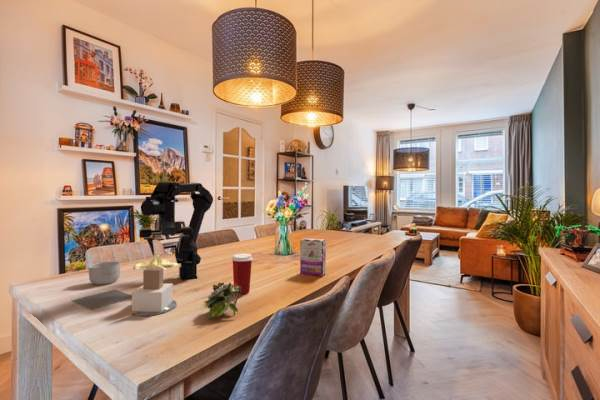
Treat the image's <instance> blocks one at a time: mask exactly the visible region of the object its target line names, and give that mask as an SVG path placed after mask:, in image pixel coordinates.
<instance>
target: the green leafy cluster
mask: <svg viewBox="0 0 600 400" xmlns="http://www.w3.org/2000/svg"><path fill="white" fill-rule="evenodd" d="M235 289H236V290H234V283H232V282H229V283H228V284H227V283H226V284H225V282H217V284H213V285H212V290H213V292H211V293H210V294H209V295H208V296H207V300H205V301H204V304H205V305H206V308H207V309H209V311H208V315H207V317H208V320H211V319H214V318H215V317H220V316H222V315H223V314H224V313H225V312H226V311H227V310H228V308H229V309H230V310H231V311H233V317H235V315H236V312H237V313H238V311H239V310H238V308H237V302H238V299H239V297H240V295H239V294H240V292H241V290H242V289H241V286H240V288H239V286H238V287H236V288H235ZM238 292H239V294H238V295H237V296H236V299H235V301H234V302H231V301H230V298H233V297H234V295H235V293H238Z"/></svg>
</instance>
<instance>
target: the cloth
mask: <svg viewBox="0 0 600 400" xmlns="http://www.w3.org/2000/svg"><path fill="white" fill-rule="evenodd" d="M178 265H179V264H177V262H171V261H169V260H167V259H163V258H162V257H161V256H160V255H159V254H156V255H155V256H154V258H153V259H152V260H150V262H141V263H136V264H135V265H134V267H133V269H134V270H140V269H143V270H145V269H147V268H163V271H166V270H167V268H168V267H169V268H175V267H177V266H178Z"/></svg>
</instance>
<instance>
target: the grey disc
mask: <svg viewBox="0 0 600 400" xmlns="http://www.w3.org/2000/svg"><path fill="white" fill-rule="evenodd" d="M177 304H178V303H177V301H176V300H173V301H172V302H171V303H170V304H169V305H168V306H167V307H166V308H165V309H164V310H163V311H162V312H140V311H136V312H134V313H132V314H131V315H132V316H135V317H151V316H158V315H159V316H160V315H163V314H166V313H169V312H171V311H172V310H174V309H175V308H177Z"/></svg>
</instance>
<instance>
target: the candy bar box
mask: <svg viewBox="0 0 600 400" xmlns="http://www.w3.org/2000/svg"><path fill="white" fill-rule="evenodd" d="M326 245H327V239H324V238H309V237H308V238H307V237H304V238H301V239H300V257H299V261H300V269H299V271H300V272H299V273H300V275H306V274H308V275H307V276H315V275H316V277H324V276H325V275H326V272H327V271H326V270H327V269H326V267H327V266H326V265H327V264H326V260H327V258H326V255H327V254H326V252H327V250H326V249H327V246H326ZM324 274H325V275H324Z"/></svg>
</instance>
